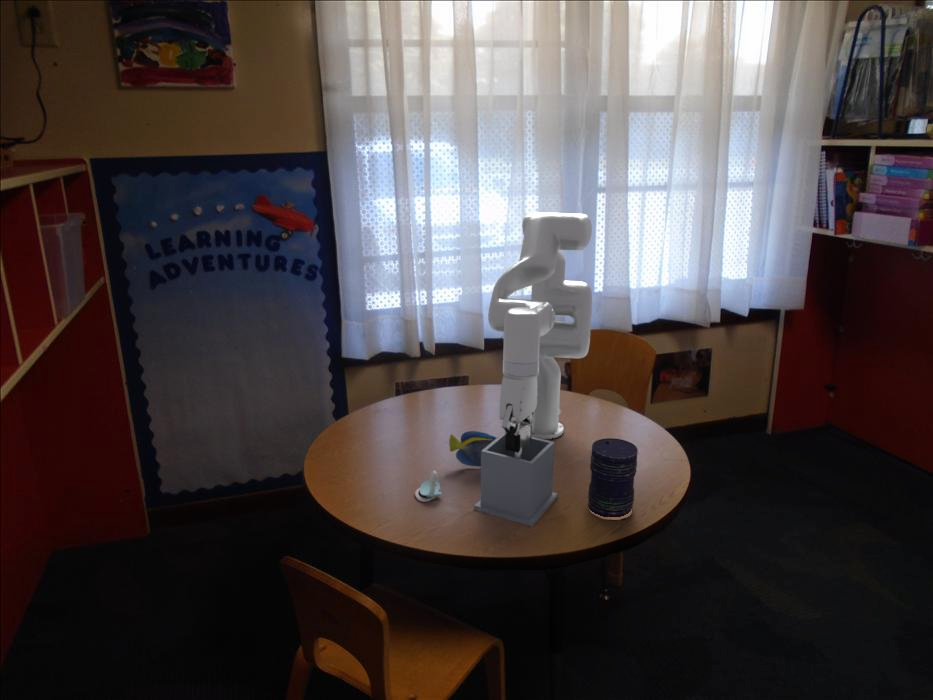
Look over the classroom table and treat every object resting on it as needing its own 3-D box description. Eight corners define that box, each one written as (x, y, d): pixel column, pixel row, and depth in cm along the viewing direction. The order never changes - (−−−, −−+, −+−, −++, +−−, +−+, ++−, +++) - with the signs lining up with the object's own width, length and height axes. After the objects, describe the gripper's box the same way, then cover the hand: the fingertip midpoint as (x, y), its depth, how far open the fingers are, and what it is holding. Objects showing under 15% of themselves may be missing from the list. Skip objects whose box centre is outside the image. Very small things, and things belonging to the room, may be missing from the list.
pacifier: (416, 505, 154) (443, 502, 154) (415, 480, 152) (442, 477, 152) (413, 489, 160) (439, 487, 161) (412, 465, 159) (438, 463, 159)
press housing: (502, 482, 163) (503, 428, 159) (557, 497, 157) (560, 441, 153) (474, 509, 152) (474, 451, 147) (532, 526, 145) (534, 466, 141)
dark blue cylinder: (641, 516, 149) (647, 454, 145) (602, 524, 146) (607, 461, 141) (616, 494, 158) (621, 435, 154) (579, 502, 155) (582, 441, 150)
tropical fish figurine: (512, 466, 171) (513, 429, 168) (512, 472, 168) (513, 434, 165) (449, 463, 172) (449, 427, 169) (448, 469, 169) (448, 432, 166)
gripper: (521, 353, 153) (519, 428, 159) (486, 375, 139) (484, 457, 145) (553, 358, 150) (549, 434, 155) (519, 382, 136) (517, 465, 141)
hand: (518, 444), depth 150 cm, fingers closed on plunger, 5 cm apart
